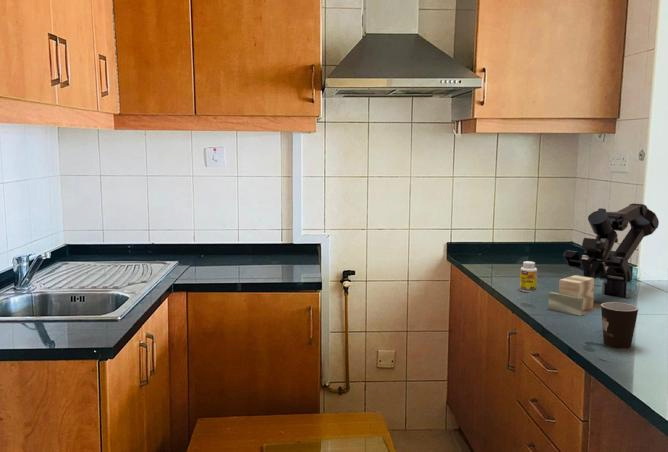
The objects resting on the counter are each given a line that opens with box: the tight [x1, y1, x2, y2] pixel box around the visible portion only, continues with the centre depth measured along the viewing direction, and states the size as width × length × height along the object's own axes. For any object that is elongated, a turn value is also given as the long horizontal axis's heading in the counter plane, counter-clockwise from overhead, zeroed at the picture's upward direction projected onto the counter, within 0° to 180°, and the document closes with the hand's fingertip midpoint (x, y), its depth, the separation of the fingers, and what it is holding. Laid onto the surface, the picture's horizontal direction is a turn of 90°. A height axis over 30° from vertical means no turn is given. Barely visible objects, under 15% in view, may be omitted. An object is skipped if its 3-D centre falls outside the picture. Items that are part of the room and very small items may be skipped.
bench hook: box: [547, 291, 601, 317], centre depth 186 cm, size 16×10×6 cm, turn 132°
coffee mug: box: [600, 301, 639, 350], centre depth 157 cm, size 12×9×10 cm
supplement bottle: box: [519, 260, 538, 293], centre depth 212 cm, size 6×6×10 cm
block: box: [558, 274, 595, 311], centre depth 185 cm, size 10×6×9 cm, turn 132°
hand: (584, 283), depth 188 cm, fingers closed
